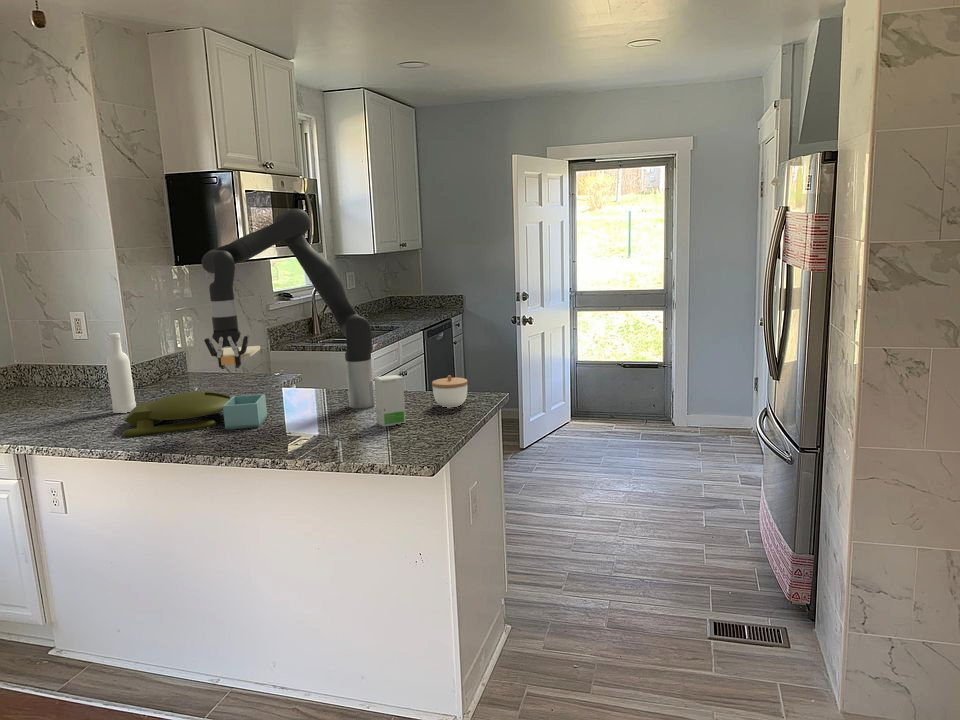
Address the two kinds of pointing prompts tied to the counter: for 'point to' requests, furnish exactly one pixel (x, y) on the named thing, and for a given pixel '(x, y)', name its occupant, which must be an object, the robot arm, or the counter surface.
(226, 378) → the counter surface
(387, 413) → the skincare box
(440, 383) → the lidded bowl
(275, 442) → the counter surface
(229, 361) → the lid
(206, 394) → the spaceship
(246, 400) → the tub
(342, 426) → the counter surface
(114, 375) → the bottle
